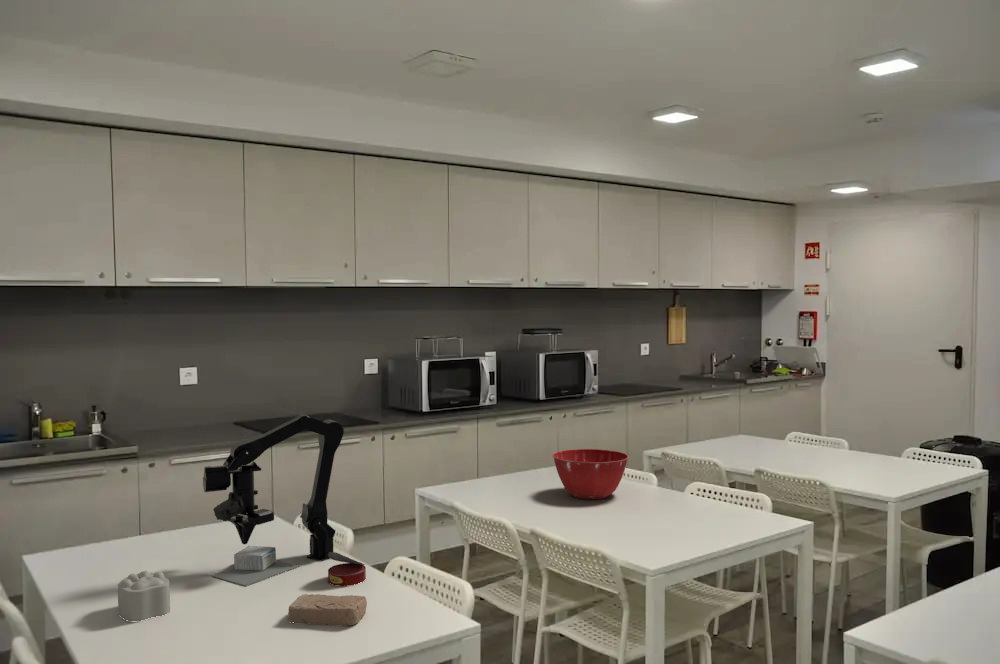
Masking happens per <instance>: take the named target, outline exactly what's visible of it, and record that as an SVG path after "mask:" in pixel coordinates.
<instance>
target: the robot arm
mask: <svg viewBox="0 0 1000 664" xmlns="http://www.w3.org/2000/svg"><path fill="white" fill-rule="evenodd" d="M305 430H307V431H309V432H313V433H316V434H317V436H318V437H317V440H318V447H319V451H318V452H319V454H318V457H317V463H316V469H315V474H314V480H313V485H312V491H311V494H310V495H311V497H310V500H308V503H302V506H301V507H302V510H301V514H300V515H299V517H300V519H301V522H302V523H301V524H302V525H303V526H304V528H305V529H306V530H307V531H308V532H309V533H310V535H309V538H310V539H309V554H307V555H306V558H307V559H308V558H309V559H313V560H317V561H321V562H323V561H324V560H327V559H330V558H329V557H328V554H329V552H334V538H335V537H334V536H335V534H336V529H335V528H333V527H332V526H331V525H330V524H329V523H328V508H327V498H328V493H329V488H330V482H331V476H332V471H333V465H334V460H335V454H336V452H337V450H338V449H339V447H340V445H341V443H342V440H343V437H344V434H345V429H344V427H343V426H342V424H340V423H339V422H338V421H335V420H333V419H325V420H322V419H319V418H315V417H311V416H308V415H307V414H304V413H301V414H299V415H297V416H296V417H295V418H292V419H291V420H288V421H286V422H284V423H282V424H281V425H278V426H276V427H275V428H272V429H271V430H269V431H267V432H265V433H263V434H261V435H257V436H254V437H249V438H246V439H243V440H239V441H237V442H235V443H234V444H232V445H231V448H230V452H229V455H228V456H227V458H226V460H225V461H224V462H223V464H222V465H217V466H210V465H209V466H204V468H203V469H204V470H203V477H202V488H203V492H204V493H210V492H219V491H220V492H221V491H226V490H227V489H228V488H230V486H231V485H232V491H230V492H229V494H228V498H227V499H226V500H223V501H222V502H220V503H219V504H217V505H216V506H214V507H213V512H214V516H215V518H216V520H217V521H219V520H220V521H223V522H230V523H231V524H233V525H234V526H235V528H236V530H237V534H238V535H239V538H240V542H241V544H242V545H247V544H248V543H249V540H250V538H251V536H252V534H253V532H254V529H255V527H256V526H259V525H264V524H265V523H271V522H274V521H275V513H274V511H273V510H272V509H271V510H270V509H265V508H262V509H259V505H257V504H256V503H255V496H256V495H258V493H259V492H258V491H259V490H256V489H255V472H260V471H262V467H261V466H259V465H258V464H257V463H256V462H255V460H257V459H258V458H260V457H261V456H262V454H264V452H266V451H267V450H268V449H270V448H272V447H274V446H276V445H278V444H280V443H281V442H283V441H285V440H288V439H289V438H291V437H294V436H295V435H297V434H299V433H300V432H303V431H305Z"/></svg>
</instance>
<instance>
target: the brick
mask: <svg viewBox="0 0 1000 664" xmlns="http://www.w3.org/2000/svg"><path fill="white" fill-rule="evenodd" d="M367 604H368V603H367V597H366V596H365V595H353V594H351V595H341V596H340V595H332V594H331V595H327V594H320V593H319V594H313V593H312V594H302V595H301V594H300V595H299V596H298V597H296V599H294V601H293V602H291V604H290V605H289V606H288V612H287V615H288V616H287V617H288V620H287V621H288V623H289V622H291V623H290V624H296V623H305V624H306V623H310V624H309V625H319V624H326V625H325V626H336V625H341V626H340V627H344V626H345V627H347V626H353V625H355V624H358V623H359V622H360V621H361V620H362V619H363V618H364V616H365V614H366V613H367V606H368V605H367ZM292 622H294V623H292ZM327 624H329V625H327Z"/></svg>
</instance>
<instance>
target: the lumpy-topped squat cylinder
mask: <svg viewBox="0 0 1000 664" xmlns="http://www.w3.org/2000/svg"><path fill="white" fill-rule="evenodd" d="M170 586H171V585H170V580H169V579H168V578H167V577H166V576H165V574H164V573H163V572H162V571H156V572H154V573H150V572H149V571H147V570H142V571H140V572H139V573H136V574H135V573H130V574H128V576H127V577H124V578H123V579H121V580H120V581H119V582H118V583H117V605H118V607H117V610H118V614H117V615H118V616H119V615H120V616H121V617H122V618H124V619H125V620H128V621H141V620H145V619H148V618H151V617H156V616H160V617H163V616H162V615H164V616H166V615H165V614H167V613H168V614H169V613H170V612H171V595H170V593H171V592H170V588H171V587H170ZM168 614H167V615H168ZM120 616H119V617H120ZM121 617H120V618H121ZM122 618H121V619H122ZM156 618H157V617H156ZM125 620H124V621H125ZM148 620H149V619H148ZM145 621H146V620H145Z"/></svg>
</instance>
